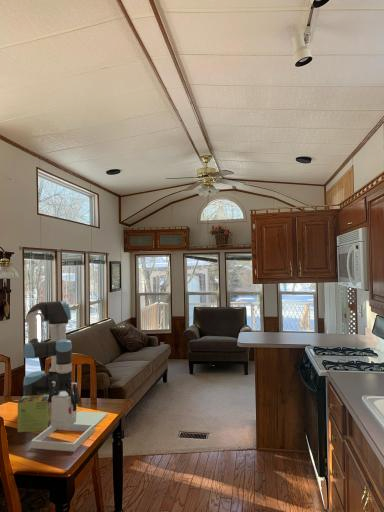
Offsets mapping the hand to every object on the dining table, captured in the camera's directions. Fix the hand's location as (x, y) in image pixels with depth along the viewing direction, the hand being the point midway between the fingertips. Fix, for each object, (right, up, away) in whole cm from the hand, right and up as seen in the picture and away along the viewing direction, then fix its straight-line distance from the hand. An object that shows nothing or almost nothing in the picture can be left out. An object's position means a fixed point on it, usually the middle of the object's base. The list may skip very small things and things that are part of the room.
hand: (64, 416), depth 192 cm
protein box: (-20, -12, +14) cm, 28 cm away
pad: (+5, -12, +23) cm, 26 cm away
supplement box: (0, -4, 0) cm, 4 cm away
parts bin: (0, -11, -1) cm, 11 cm away
